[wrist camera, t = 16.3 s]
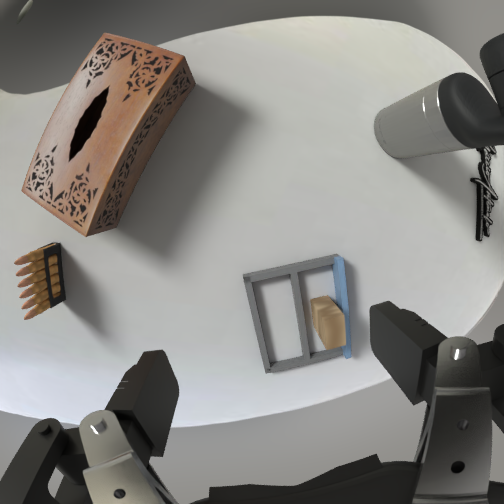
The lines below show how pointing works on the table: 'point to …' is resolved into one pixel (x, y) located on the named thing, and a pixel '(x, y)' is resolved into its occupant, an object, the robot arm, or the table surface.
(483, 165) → the nameplate
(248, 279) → the organizer
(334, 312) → the plug block
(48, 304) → the ammunition clip
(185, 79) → the tissue box cover
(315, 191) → the table surface
